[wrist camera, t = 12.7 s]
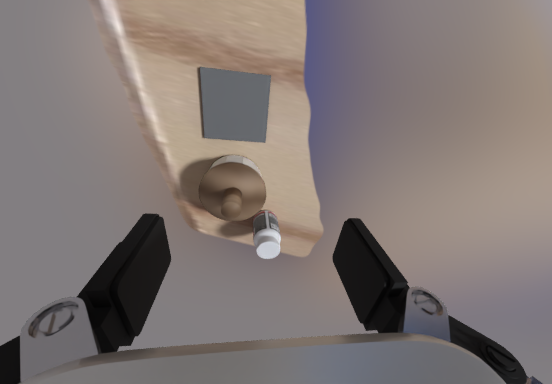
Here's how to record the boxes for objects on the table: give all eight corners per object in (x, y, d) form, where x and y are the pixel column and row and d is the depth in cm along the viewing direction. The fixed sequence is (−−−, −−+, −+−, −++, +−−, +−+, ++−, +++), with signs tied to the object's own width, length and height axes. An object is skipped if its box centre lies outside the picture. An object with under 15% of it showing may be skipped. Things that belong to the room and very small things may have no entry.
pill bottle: (253, 229, 49) (253, 261, 41) (252, 209, 46) (252, 240, 38) (276, 228, 50) (282, 259, 41) (277, 208, 47) (283, 238, 39)
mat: (200, 66, 32) (199, 66, 31) (270, 75, 34) (270, 75, 33) (205, 137, 37) (204, 137, 37) (265, 141, 39) (265, 142, 38)
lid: (197, 159, 34) (187, 175, 29) (268, 164, 36) (271, 179, 31) (202, 217, 40) (195, 238, 35) (263, 218, 42) (265, 239, 37)
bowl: (206, 152, 39) (200, 162, 34) (263, 156, 40) (265, 166, 36) (209, 201, 44) (204, 215, 40) (260, 203, 46) (261, 216, 41)
